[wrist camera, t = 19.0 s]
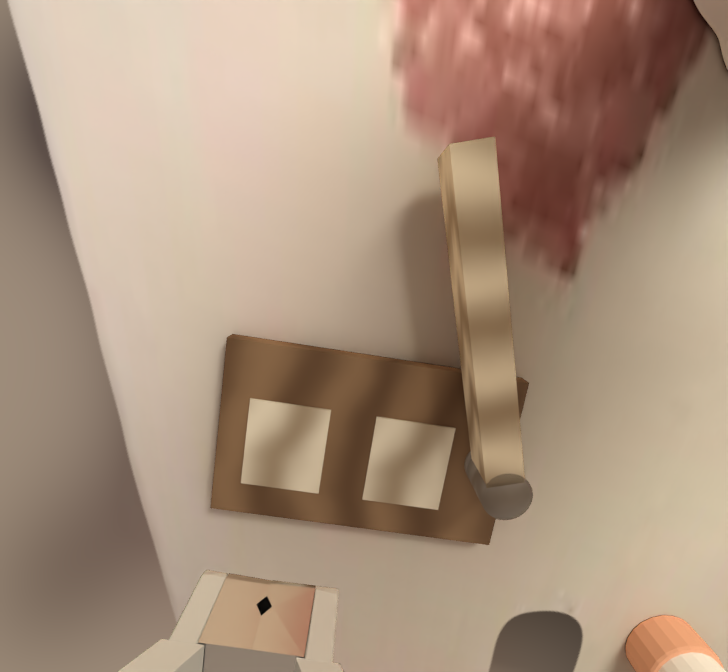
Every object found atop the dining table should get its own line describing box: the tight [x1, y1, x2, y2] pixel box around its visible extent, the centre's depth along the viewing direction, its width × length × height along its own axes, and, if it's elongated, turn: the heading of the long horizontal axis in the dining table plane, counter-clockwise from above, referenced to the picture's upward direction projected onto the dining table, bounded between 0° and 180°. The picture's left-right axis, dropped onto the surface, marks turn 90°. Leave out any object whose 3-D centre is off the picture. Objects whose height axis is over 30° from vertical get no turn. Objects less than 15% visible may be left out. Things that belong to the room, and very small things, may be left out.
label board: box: [211, 334, 529, 545], centre depth 36 cm, size 26×16×2 cm, turn 81°
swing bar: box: [438, 137, 533, 520], centre depth 31 cm, size 28×4×4 cm, turn 9°
